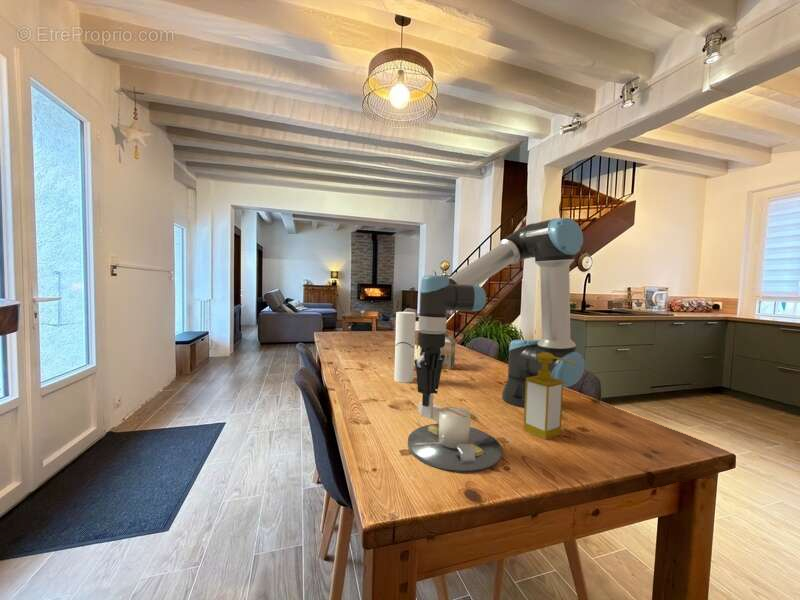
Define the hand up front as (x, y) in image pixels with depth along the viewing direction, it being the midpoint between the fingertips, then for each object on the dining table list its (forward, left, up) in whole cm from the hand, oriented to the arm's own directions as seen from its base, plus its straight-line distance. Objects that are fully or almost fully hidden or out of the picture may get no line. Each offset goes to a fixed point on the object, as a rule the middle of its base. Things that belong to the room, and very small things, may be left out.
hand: (426, 416), depth 90 cm
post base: (-6, +6, -6) cm, 10 cm away
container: (-4, -55, -6) cm, 55 cm away
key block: (-5, +4, -4) cm, 8 cm away
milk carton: (-29, -78, -6) cm, 83 cm away
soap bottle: (-36, +3, -6) cm, 36 cm away
